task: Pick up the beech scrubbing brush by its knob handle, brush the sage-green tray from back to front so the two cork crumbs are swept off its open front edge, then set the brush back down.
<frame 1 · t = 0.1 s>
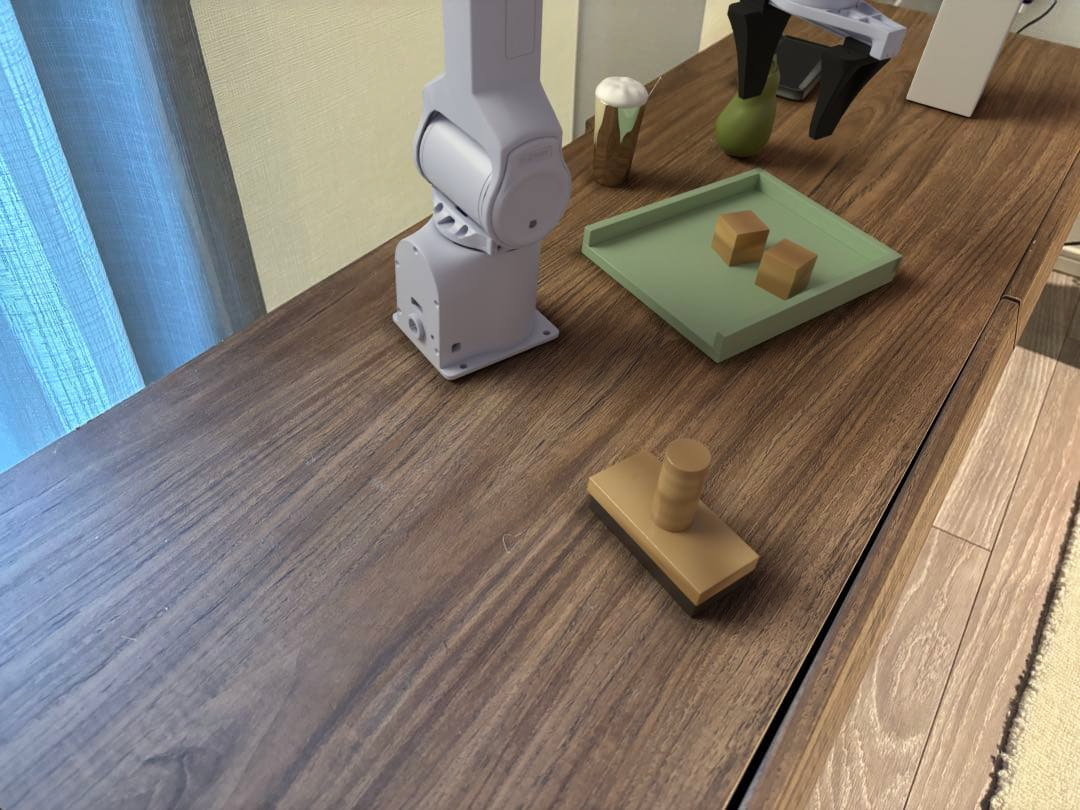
hand: (783, 115, 69), 10 cm above the sideboard top, tool pointing down, fingers open, 7 cm apart
tray: (737, 266, 72), on the sideboard top
brush: (663, 544, 50), on the sideboard top
milkshake: (614, 180, 81), on the sideboard top
crumb b: (735, 253, 71), point 1 cm above the sideboard top, touching tray
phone: (786, 71, 101), on the sideboard top
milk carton: (942, 100, 99), on the sideboard top
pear: (736, 155, 86), on the sideboard top
crumb a: (780, 285, 68), point 1 cm above the sideboard top, touching tray
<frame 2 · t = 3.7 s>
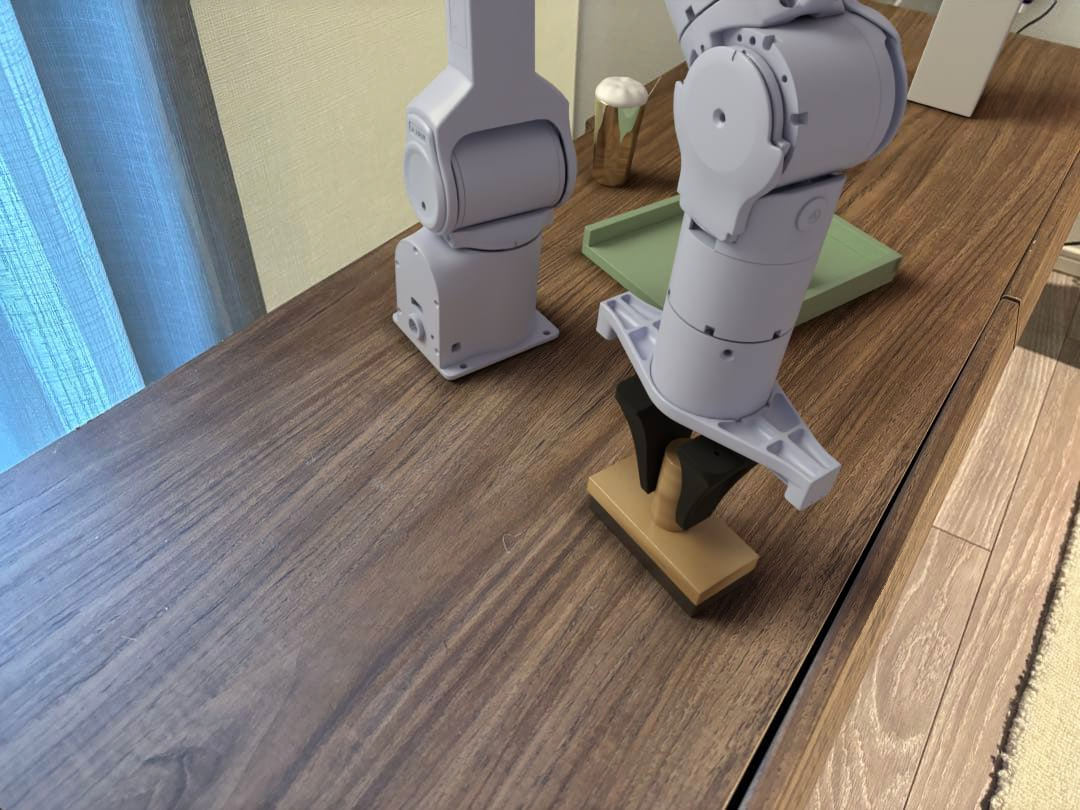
hand: (675, 501, 48), 4 cm above the sideboard top, tool pointing down, fingers closed on brush, 2 cm apart
brush: (663, 544, 50), on the sideboard top, touching gripper
everything else where it was.
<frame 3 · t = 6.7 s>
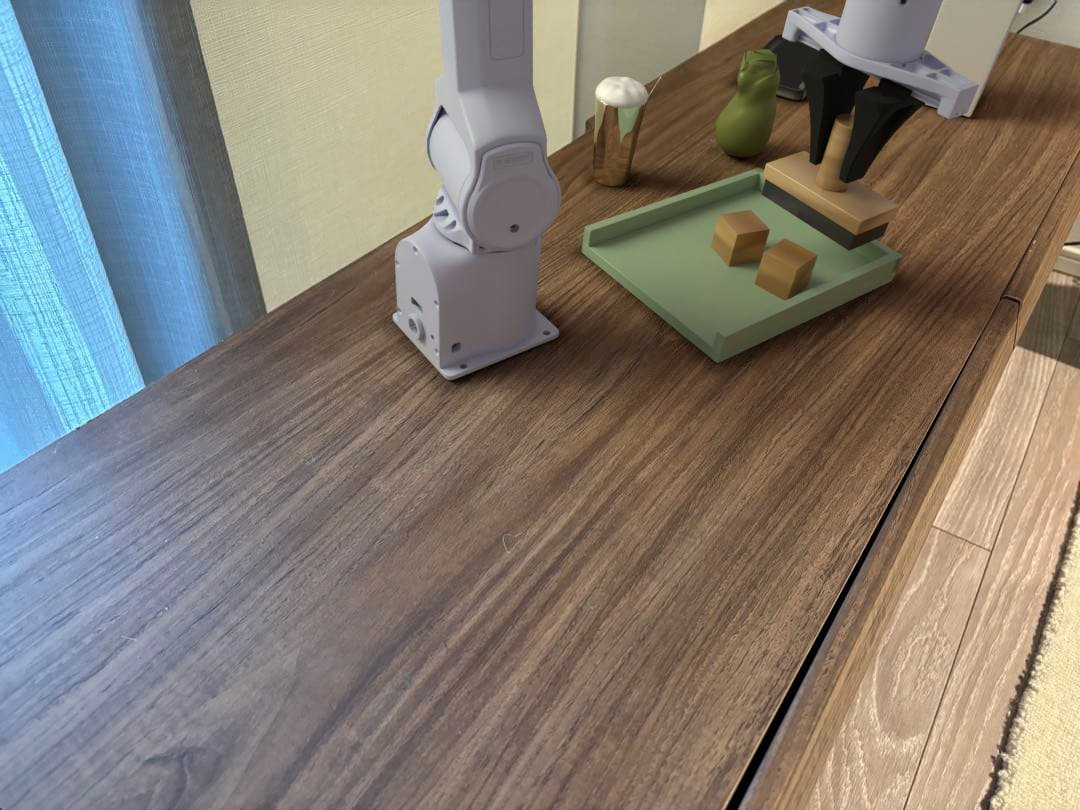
hand: (836, 169, 65), 9 cm above the sideboard top, tool pointing down, fingers closed on brush, 2 cm apart
brush: (820, 215, 68), point 6 cm above the sideboard top, touching gripper
everything else where it was.
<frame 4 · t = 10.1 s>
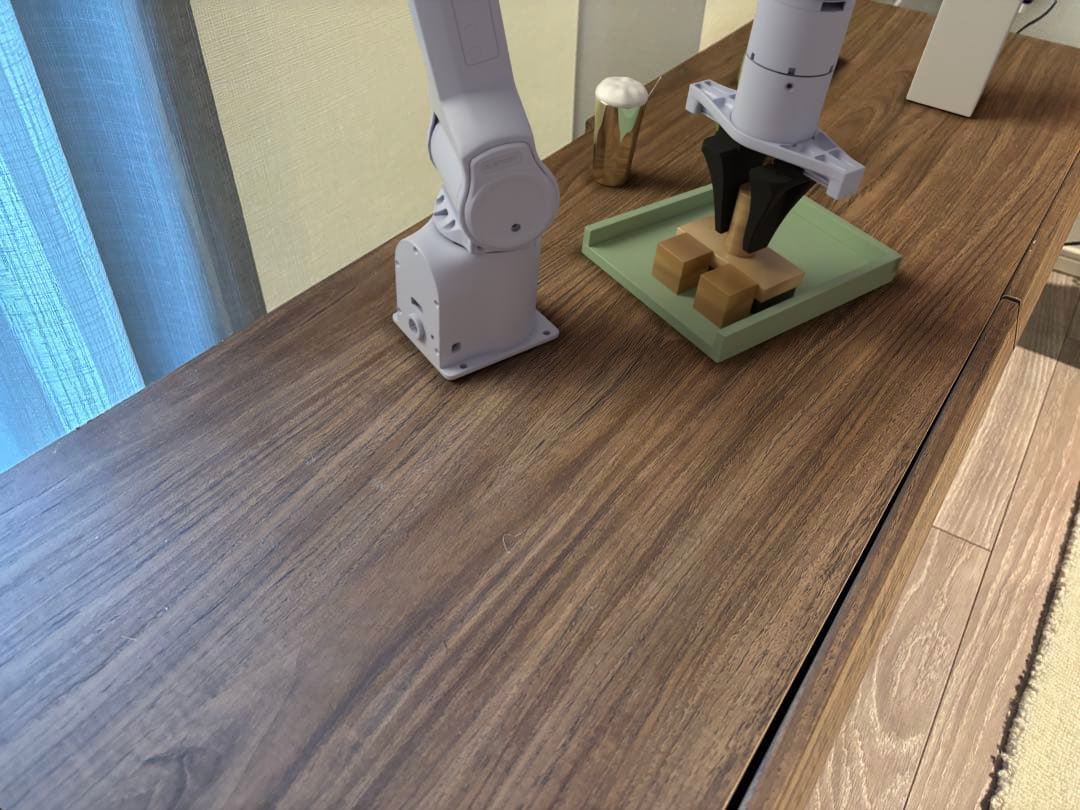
hand: (741, 238, 66), 5 cm above the sideboard top, tool pointing down, fingers closed on brush, 2 cm apart
brush: (732, 278, 68), point 1 cm above the sideboard top, touching crumb a, gripper
crumb b: (678, 279, 68), point 1 cm above the sideboard top
crumb a: (720, 311, 65), point 1 cm above the sideboard top, touching brush, tray
everything else where it was.
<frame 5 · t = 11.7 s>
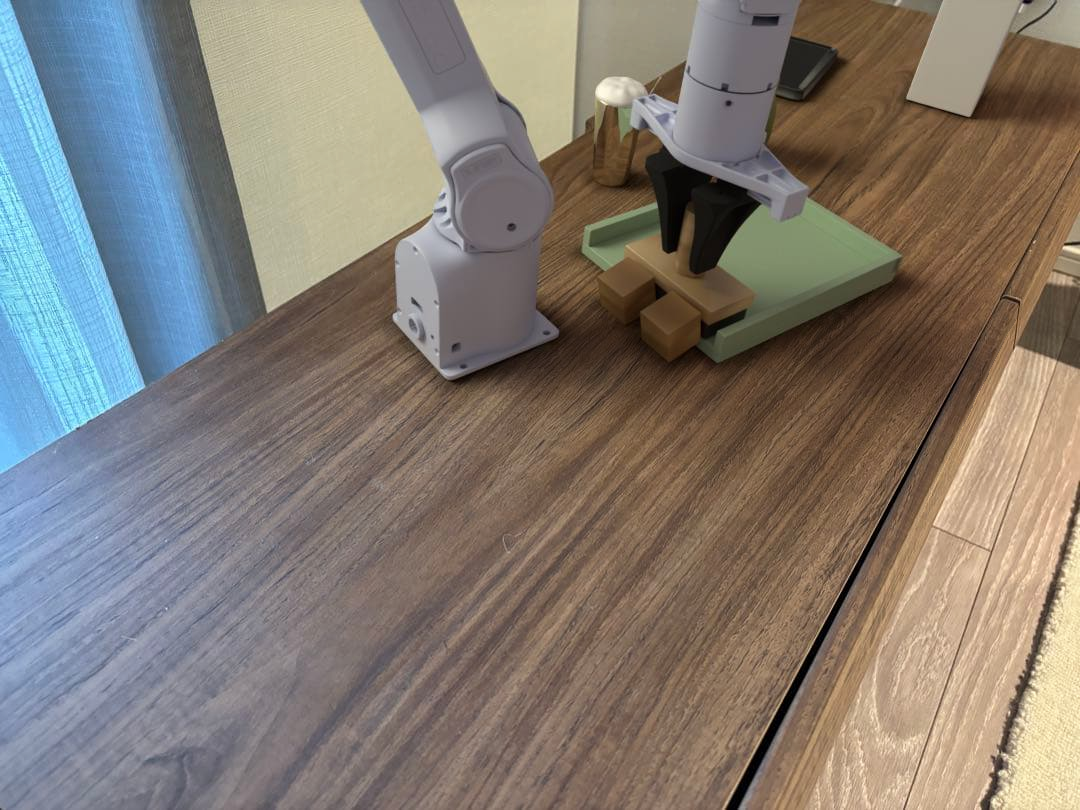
hand: (688, 258, 63), 5 cm above the sideboard top, tool pointing down, fingers closed on brush, 2 cm apart
brush: (682, 297, 66), point 1 cm above the sideboard top, touching crumb a, crumb b, gripper
crumb b: (628, 304, 66), on the sideboard top, tilted 15°, touching brush
crumb a: (671, 340, 63), on the sideboard top, tilted 15°, touching brush
everything else where it was.
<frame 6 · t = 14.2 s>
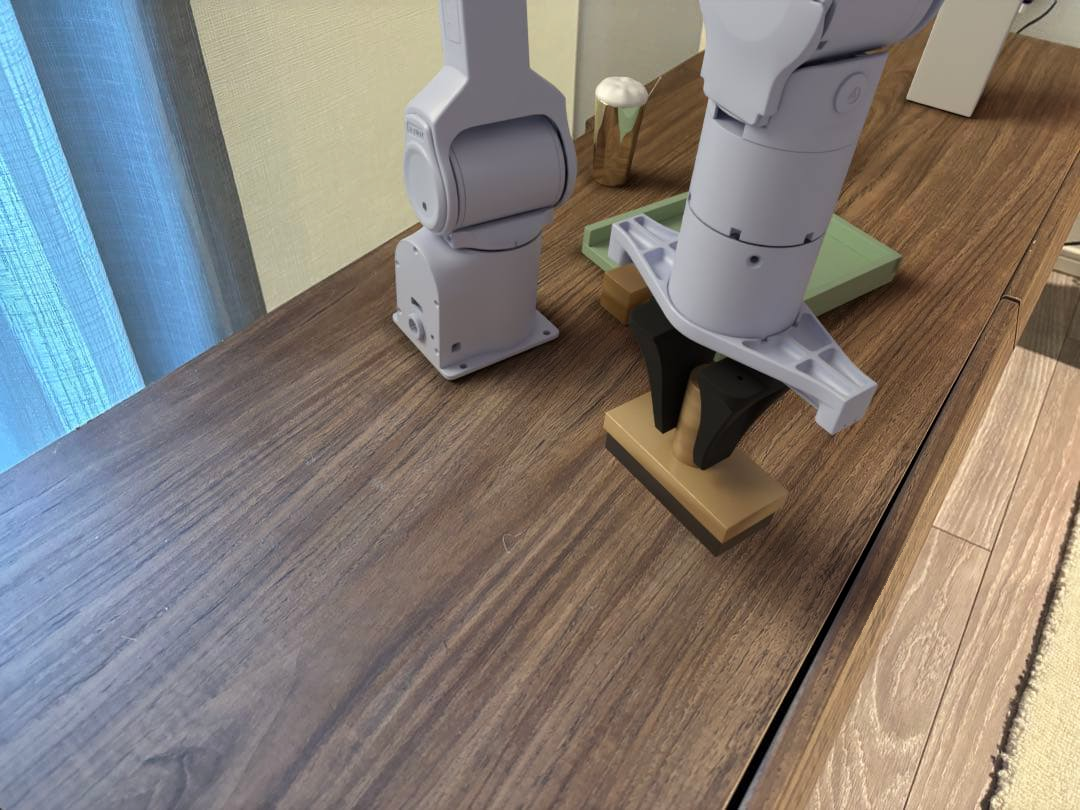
hand: (692, 441, 45), 9 cm above the sideboard top, tool pointing down, fingers closed on brush, 2 cm apart
brush: (684, 484, 47), point 5 cm above the sideboard top, touching gripper
crumb b: (627, 308, 66), on the sideboard top
crumb a: (669, 344, 64), on the sideboard top
everything else where it was.
when the fingers open (4 cm above the sideboard top, at t = 15.7 s): brush stays where it is, on the sideboard top.
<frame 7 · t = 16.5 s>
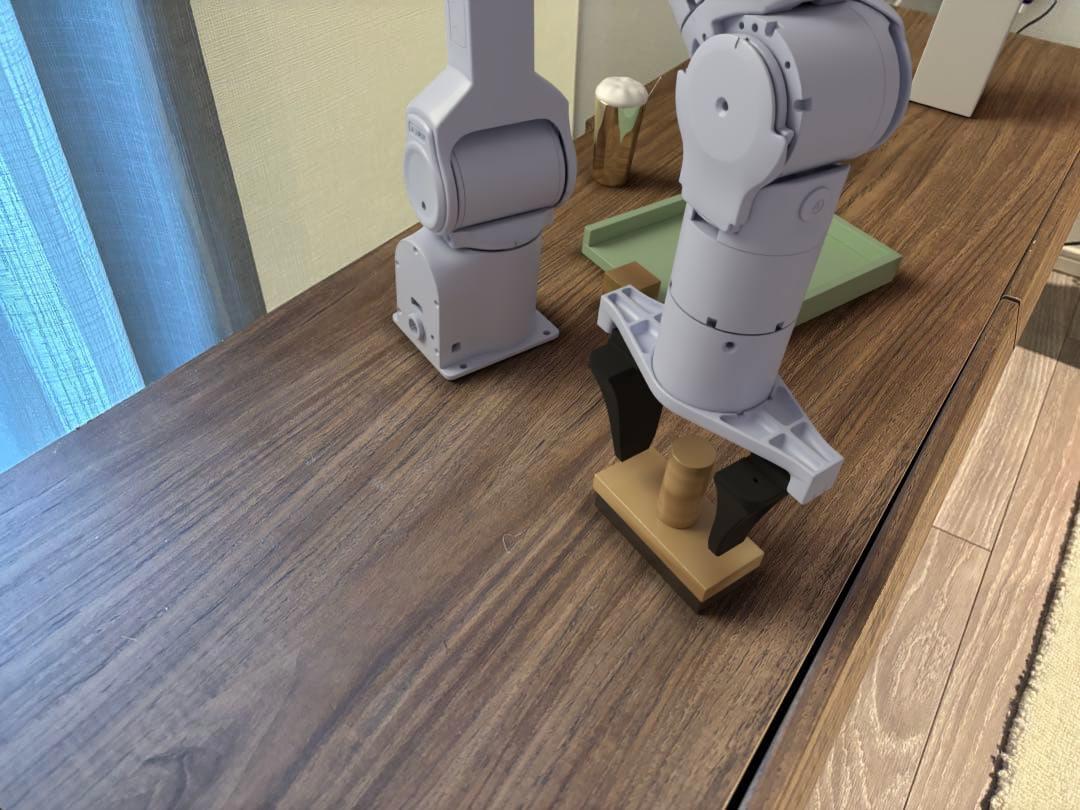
hand: (676, 496, 47), 4 cm above the sideboard top, tool pointing down, fingers open, 7 cm apart
brush: (668, 541, 51), on the sideboard top
everything else where it was.
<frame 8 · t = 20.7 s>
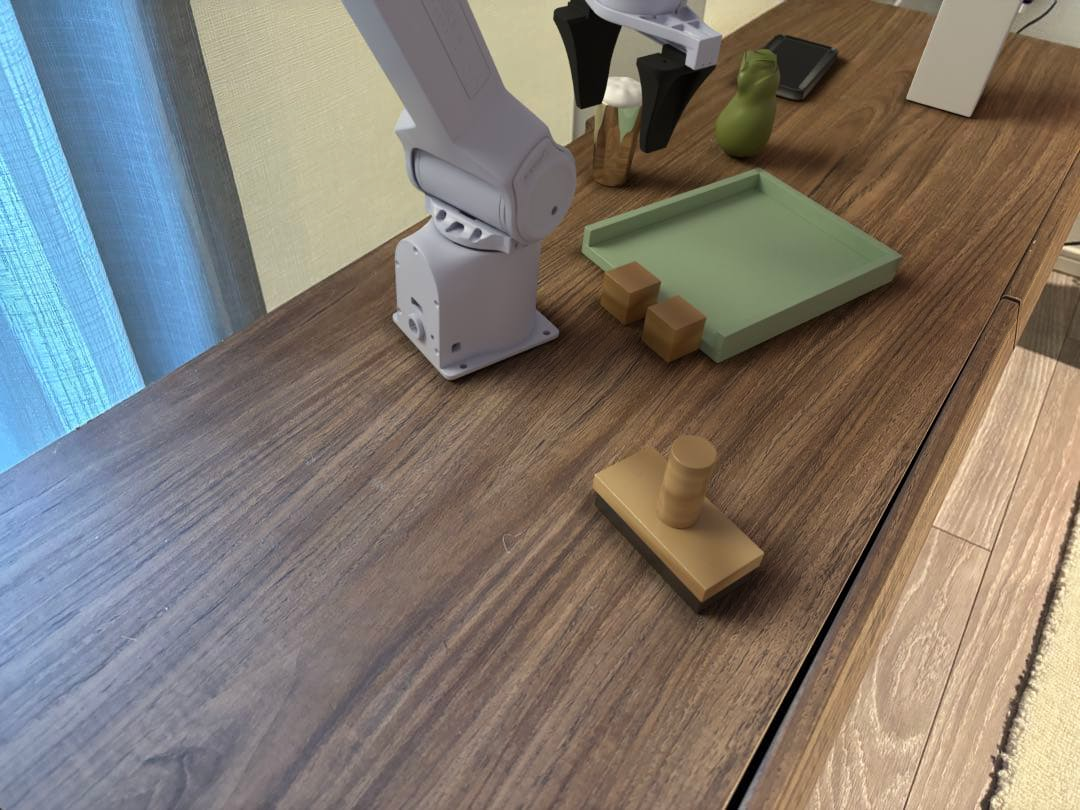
hand: (620, 126, 65), 10 cm above the sideboard top, tool pointing down, fingers open, 7 cm apart
nothing on the sideboard top moved.
at the end: crumb a inside the target area on the sideboard top beside the tray (8.8 cm from its centre), on the sideboard top; crumb b inside the target area on the sideboard top beside the tray (9.3 cm from its centre), on the sideboard top; the gripper is holding nothing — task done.
